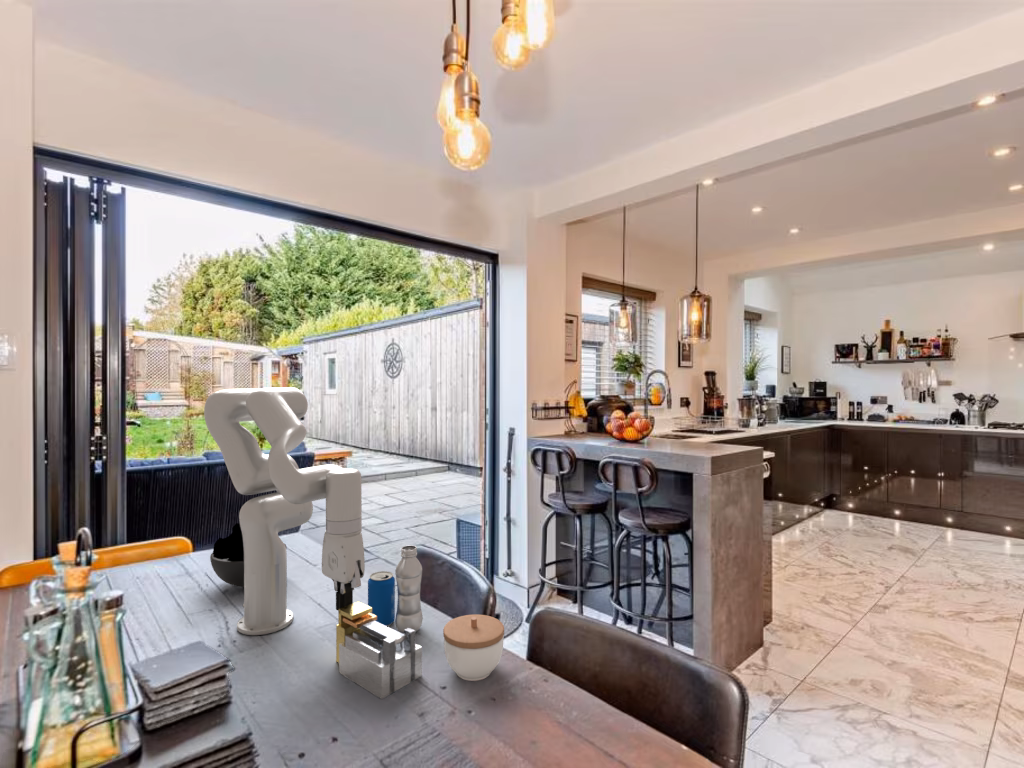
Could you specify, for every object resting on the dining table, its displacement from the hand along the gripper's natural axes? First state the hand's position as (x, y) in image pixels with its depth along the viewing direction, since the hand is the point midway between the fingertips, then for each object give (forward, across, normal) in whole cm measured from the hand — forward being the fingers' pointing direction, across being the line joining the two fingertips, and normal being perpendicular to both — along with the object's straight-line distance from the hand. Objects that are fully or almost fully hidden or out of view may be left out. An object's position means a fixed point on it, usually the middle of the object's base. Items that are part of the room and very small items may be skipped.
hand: (344, 608), depth 115 cm
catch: (+10, +3, 0) cm, 10 cm away
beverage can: (+10, -5, +14) cm, 18 cm away
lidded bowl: (+10, +27, +13) cm, 31 cm away
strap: (+2, +11, 0) cm, 11 cm away
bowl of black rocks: (+10, -55, +5) cm, 56 cm away
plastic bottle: (+10, +3, +16) cm, 19 cm away
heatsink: (+10, +13, 0) cm, 16 cm away
